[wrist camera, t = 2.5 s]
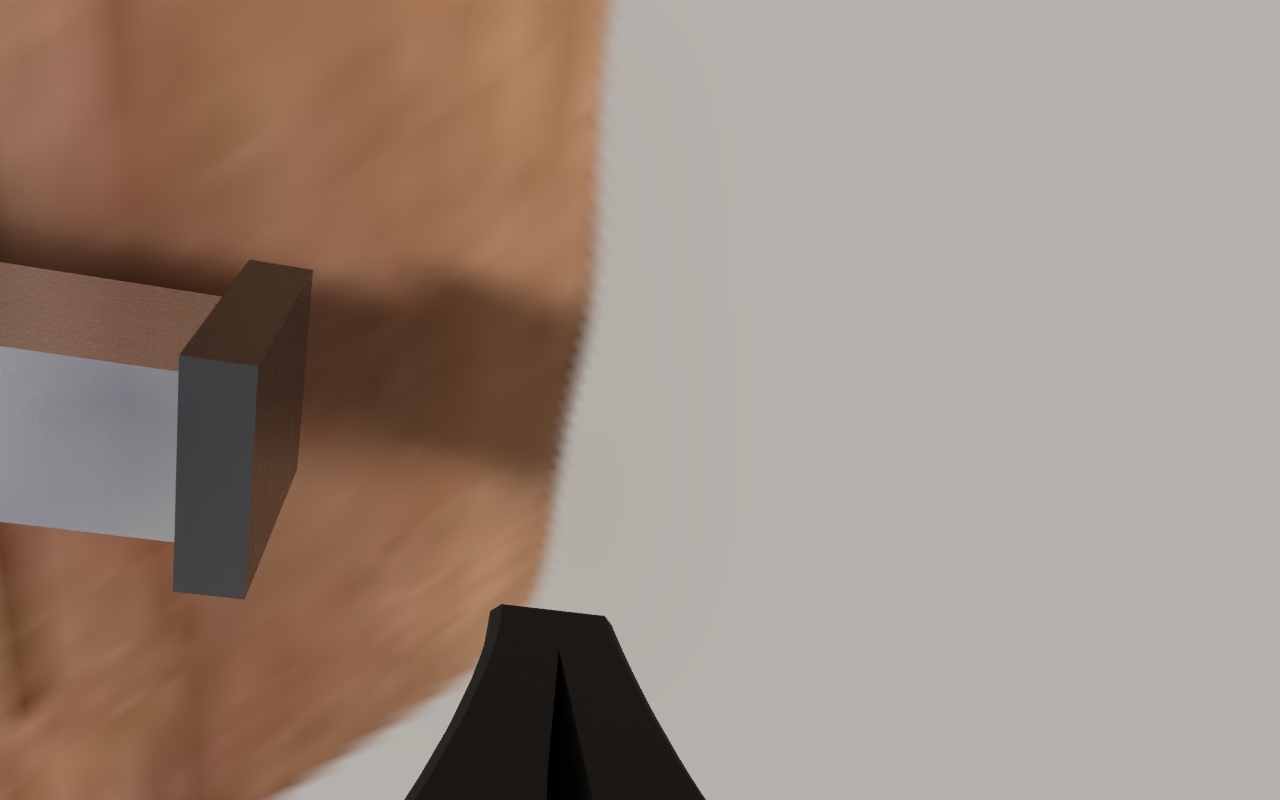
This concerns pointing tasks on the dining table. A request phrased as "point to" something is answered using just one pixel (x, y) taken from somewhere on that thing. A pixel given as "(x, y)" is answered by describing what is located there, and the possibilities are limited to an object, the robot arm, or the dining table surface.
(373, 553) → the dining table surface
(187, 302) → the shaft
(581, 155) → the dining table surface
